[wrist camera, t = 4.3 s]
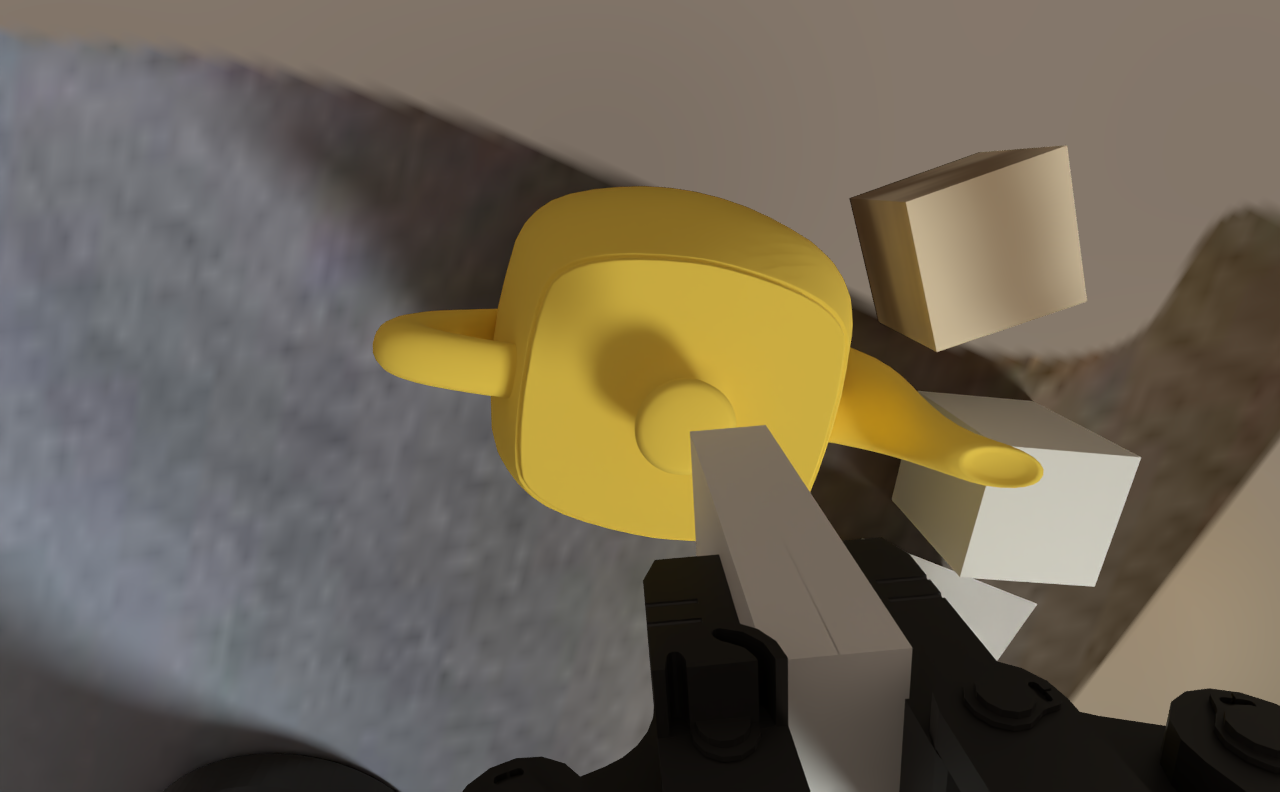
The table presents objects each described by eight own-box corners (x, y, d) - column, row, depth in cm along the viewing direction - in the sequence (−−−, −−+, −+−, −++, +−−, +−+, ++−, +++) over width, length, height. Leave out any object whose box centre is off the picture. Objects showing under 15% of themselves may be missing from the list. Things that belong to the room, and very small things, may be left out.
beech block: (878, 321, 26) (936, 352, 22) (849, 198, 25) (905, 202, 20) (1000, 279, 26) (1087, 301, 21) (978, 152, 25) (1067, 145, 20)
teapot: (930, 239, 25) (1144, 276, 15) (850, 495, 29) (982, 667, 18) (459, 145, 24) (345, 117, 14) (430, 429, 27) (320, 579, 17)
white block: (891, 499, 29) (959, 577, 23) (917, 390, 27) (997, 445, 22) (1000, 507, 29) (1094, 586, 24) (1032, 400, 28) (1141, 457, 22)
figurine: (827, 490, 29) (1045, 797, 14) (1007, 563, 30) (1366, 906, 16) (752, 622, 30) (877, 1009, 16) (925, 684, 32) (1178, 1087, 18)
